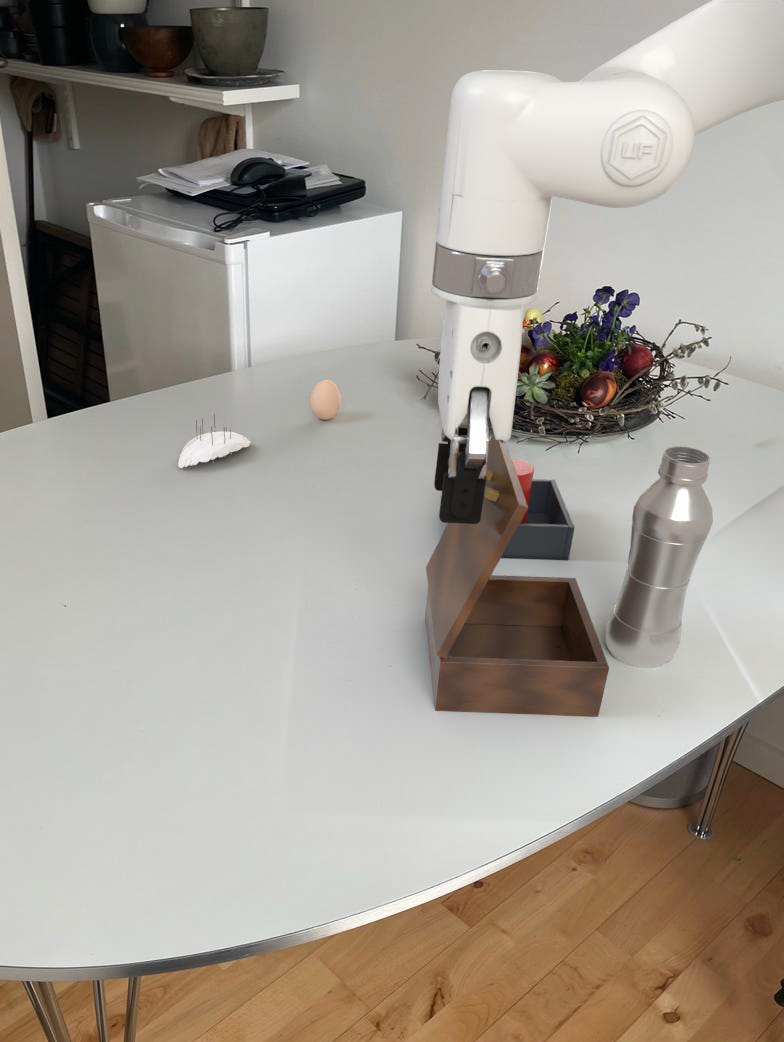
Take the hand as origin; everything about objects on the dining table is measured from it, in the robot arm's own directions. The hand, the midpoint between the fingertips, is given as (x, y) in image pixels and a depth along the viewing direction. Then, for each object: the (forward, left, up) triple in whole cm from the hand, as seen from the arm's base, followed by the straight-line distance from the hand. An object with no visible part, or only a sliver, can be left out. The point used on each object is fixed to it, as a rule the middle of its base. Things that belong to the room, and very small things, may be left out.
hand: (456, 503), depth 79 cm
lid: (-2, -1, -4) cm, 4 cm away
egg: (+32, -54, -17) cm, 65 cm away
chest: (-6, -2, -16) cm, 18 cm away
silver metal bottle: (-16, -9, -17) cm, 25 cm away
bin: (0, -28, -16) cm, 33 cm away
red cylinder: (+1, -28, -16) cm, 32 cm away
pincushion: (+40, -35, -17) cm, 56 cm away
